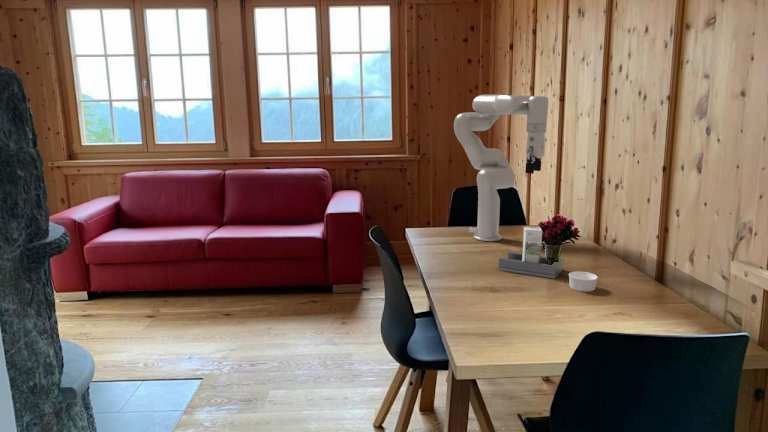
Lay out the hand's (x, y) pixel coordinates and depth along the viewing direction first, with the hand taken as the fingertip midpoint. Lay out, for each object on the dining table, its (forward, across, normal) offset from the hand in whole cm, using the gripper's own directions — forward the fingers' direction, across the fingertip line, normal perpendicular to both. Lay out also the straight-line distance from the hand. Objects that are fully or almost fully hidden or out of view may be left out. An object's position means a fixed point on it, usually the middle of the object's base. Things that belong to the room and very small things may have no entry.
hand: (533, 171), depth 216 cm
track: (+32, -25, -9) cm, 42 cm away
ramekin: (+32, -36, -29) cm, 57 cm away
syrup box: (+31, -25, -9) cm, 41 cm away
